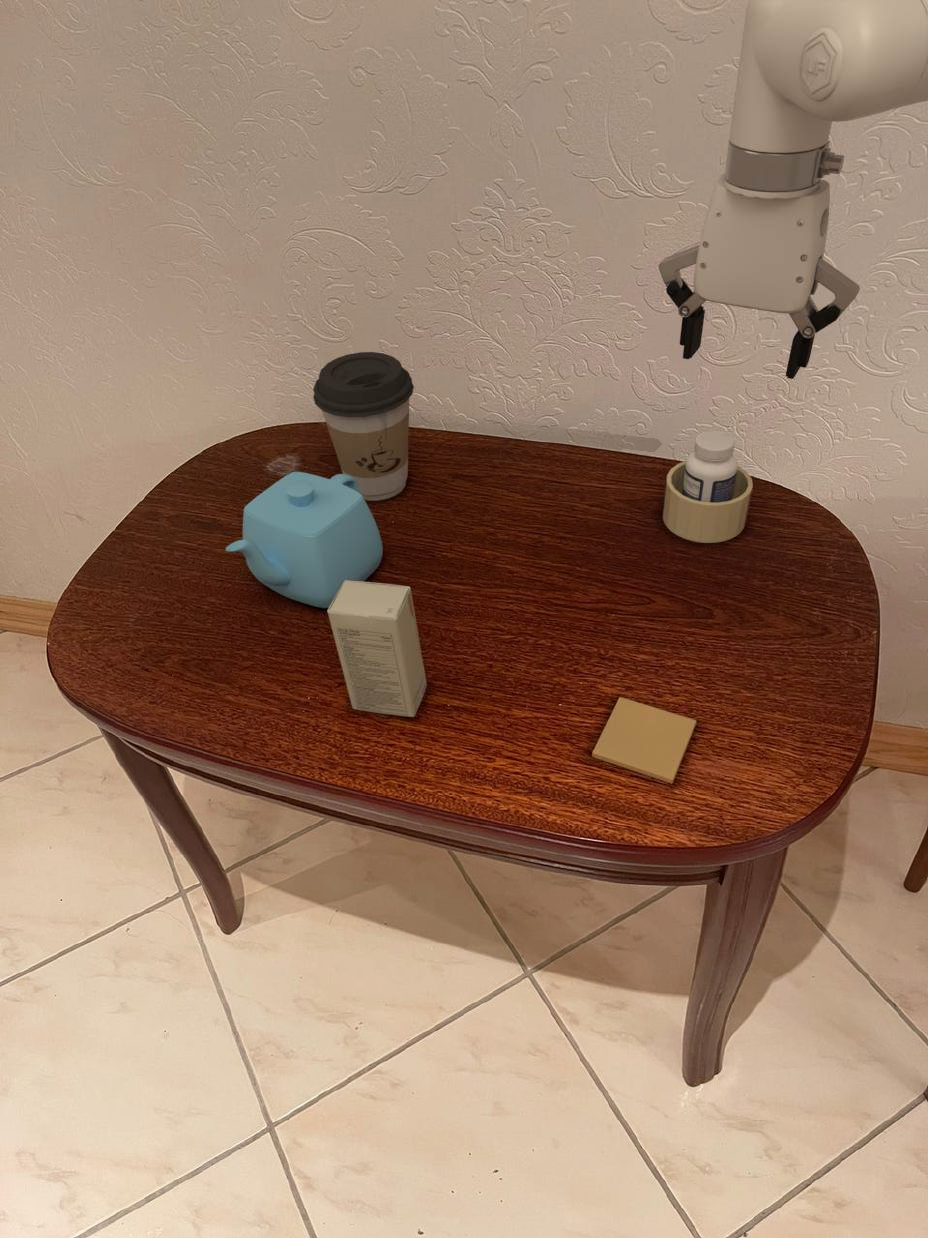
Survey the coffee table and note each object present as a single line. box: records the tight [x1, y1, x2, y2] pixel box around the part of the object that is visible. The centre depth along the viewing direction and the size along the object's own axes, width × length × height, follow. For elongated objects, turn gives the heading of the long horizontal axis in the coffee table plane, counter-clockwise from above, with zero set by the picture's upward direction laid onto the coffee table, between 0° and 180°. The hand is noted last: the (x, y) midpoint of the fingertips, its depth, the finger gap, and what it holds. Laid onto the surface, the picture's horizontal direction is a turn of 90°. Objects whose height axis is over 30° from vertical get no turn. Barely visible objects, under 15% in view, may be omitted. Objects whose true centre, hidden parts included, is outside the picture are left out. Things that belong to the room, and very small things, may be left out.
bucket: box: [662, 460, 754, 544], centre depth 97 cm, size 9×9×5 cm
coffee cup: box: [312, 351, 415, 502], centre depth 103 cm, size 11×11×15 cm
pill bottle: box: [682, 430, 739, 503], centre depth 96 cm, size 5×5×10 cm
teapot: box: [225, 471, 384, 609], centre depth 91 cm, size 12×18×12 cm
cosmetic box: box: [326, 580, 428, 718], centre depth 78 cm, size 6×4×12 cm
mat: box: [591, 696, 697, 785], centre depth 76 cm, size 7×7×1 cm
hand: (741, 362), depth 83 cm, fingers open, 9 cm apart
